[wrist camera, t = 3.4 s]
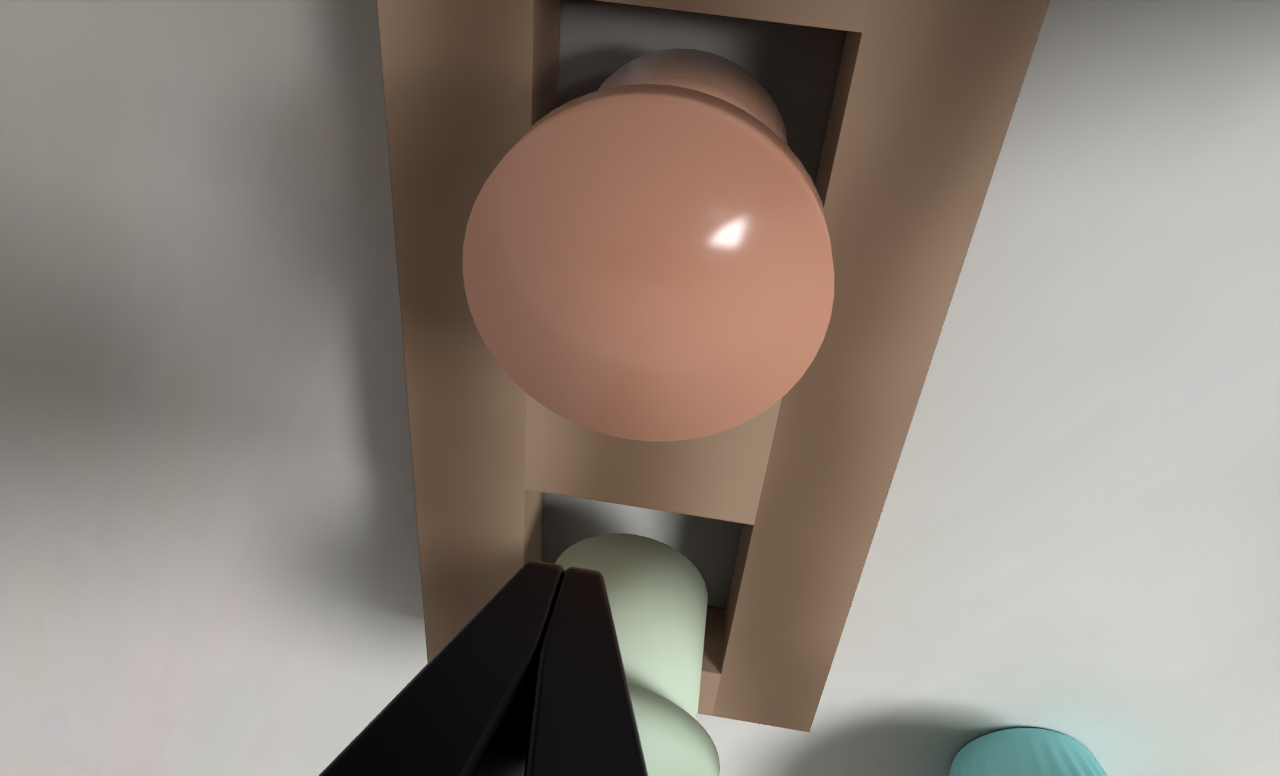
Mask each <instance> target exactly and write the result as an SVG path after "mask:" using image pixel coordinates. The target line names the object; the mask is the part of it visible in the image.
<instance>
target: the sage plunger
mask: <svg viewBox="0 0 1280 776" xmlns="http://www.w3.org/2000/svg"><path fill="white" fill-rule="evenodd" d="M555 564H559V565H561V566H562V567H563V568H564V570H566V569H567V568H569V567H578V568H584V569H590V570H596V571H599V572H601V573H602V575H603V577H604V581H605V586H606V590H607V594H608V599H609V603H610V608H611V612H612V617H613V621H614V625H615V630H616V634H617V639H618V643H619V648H620V652H621V657H622V661H623V665H624V670H625V674H626V679H627V683H628V688H629V692H630V697H631V701H632V705H633V710H634V714H635V719H636V723H637V728H638V732H639V736H640V741H641V745H642V750H643V754H644V759H645V763H646V768H647V772H648V776H719V771H720V765H719V756H718V753H717V750H716V747H715V745H714V743H713V741H712V739H711V737H710V736H709V734H708V733H707V732H706V730H705V729H704V728H703V727H702V726H701V725H700V723H699V722H698V721H697V715H698V703H699V692H700V681H701V670H702V658H703V647H704V636H705V625H706V614H707V602H708V594H707V588H706V585H705V582H704V580H703V578H702V576H701V574H700V573H699V571H698V570H697V568H696V567H695V566H694V565H693V564H692V563H691V561H689V560H688V559H687V558H686V557H685V556H684V555H682V554H681V553H680V552H678V551H677V550H675V549H673V548H672V547H670V546H668V545H666V544H664V543H661V542H659V541H657V540H654V539H650V538H647V537H643V536H638V535H632V534H614V533H613V534H602V535H597V536H593V537H590V538H586V539H583V540H581V541H579V542H577V543H575V544H573V545H572V546H570V547H569V548H567V549H566V550H565V551H564V552H563V553H562V554H561V555H560V556H559V558H558V559H557V560H556V562H555Z"/></svg>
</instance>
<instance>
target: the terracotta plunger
mask: <svg viewBox="0 0 1280 776" xmlns="http://www.w3.org/2000/svg"><path fill="white" fill-rule="evenodd" d="M462 268H463V278H464V288H465V292H466V296H467V301H468V305H469V309H470V312H471V314H472V317H473V319H474V322H475V325H476V327H477V330H478V332H479V333H480V335H481V337H482V339H483V341H484V343H485V345H486V346H487V348H488V350H489V351H490V353H491V354H492V355H493V357H494V358H495V360H496V361H497V363H498V364H499V365H500V367H501V368H502V369H503V370H504V371H505V372H506V373H507V374H508V376H509V377H510V378H511V379H512V380H513V381H514V382H515V383H516V384H517V385H518V386H519V387H520V388H521V389H523V390H524V391H525V392H526V393H527V394H528V395H529V396H530V397H532V398H533V399H535V400H536V401H537V402H539V403H540V404H542V405H543V406H544V407H546V408H547V409H549V410H550V411H552V412H554V413H556V414H558V415H559V416H561V417H563V418H565V419H566V420H568V421H571V422H573V423H575V424H578V425H580V426H582V427H585V428H587V429H590V430H593V431H596V432H600V433H603V434H606V435H610V436H615V437H619V438H624V439H629V440H639V441H650V442H665V441H680V440H689V439H696V438H700V437H705V436H709V435H713V434H717V433H719V432H722V431H725V430H728V429H731V428H734V427H736V426H738V425H740V424H742V423H744V422H746V421H748V420H750V419H752V418H754V417H756V416H757V415H759V414H760V413H762V412H763V411H765V410H767V409H768V408H770V407H771V406H772V405H774V404H775V403H776V402H777V401H778V400H780V399H781V398H782V397H783V396H784V395H785V394H787V393H788V392H789V391H790V389H791V388H792V387H793V386H794V385H795V384H796V383H797V382H798V381H799V380H800V378H801V377H802V376H803V375H804V373H805V372H806V370H807V369H808V367H809V366H810V364H811V363H812V361H813V360H814V358H815V356H816V354H817V352H818V350H819V348H820V346H821V344H822V342H823V340H824V337H825V334H826V331H827V328H828V325H829V322H830V318H831V312H832V306H833V300H834V267H833V258H832V250H831V242H830V235H829V227H828V222H827V218H826V215H825V211H824V208H823V204H822V201H821V199H820V196H819V194H818V192H817V190H816V187H815V185H814V183H813V181H812V179H811V177H810V176H809V174H808V173H807V171H806V169H805V168H804V166H803V165H802V163H801V161H800V160H799V159H798V157H797V156H796V155H795V154H794V153H793V152H792V150H791V149H790V148H789V147H788V142H787V135H786V130H785V127H784V124H783V120H782V117H781V115H780V113H779V111H778V109H777V106H776V105H775V103H774V101H773V100H772V98H771V97H770V95H769V93H768V92H767V91H766V90H765V89H764V87H763V86H762V85H761V84H760V83H759V82H758V81H757V80H756V79H755V78H754V77H753V76H752V75H751V74H750V73H749V72H747V71H746V70H744V69H743V68H741V67H740V66H739V65H737V64H736V63H734V62H732V61H730V60H728V59H726V58H724V57H721V56H718V55H715V54H712V53H709V52H705V51H700V50H695V49H668V50H661V51H657V52H652V53H649V54H646V55H644V56H641V57H638V58H636V59H634V60H632V61H630V62H628V63H627V64H625V65H623V66H622V67H620V68H619V69H618V70H616V71H615V72H614V73H612V74H611V75H610V76H609V77H608V78H607V79H606V80H605V81H604V82H603V83H602V84H601V86H600V87H599V88H598V90H597V91H594V92H592V93H589V94H586V95H583V96H581V97H578V98H575V99H573V100H571V101H569V102H567V103H565V104H563V105H562V106H560V107H558V108H556V109H554V110H552V111H551V112H549V113H548V114H547V115H545V116H544V117H543V118H541V119H540V120H539V121H537V122H536V123H535V124H533V125H532V126H531V127H530V128H529V129H528V130H527V131H526V132H525V133H524V134H523V135H522V136H521V137H520V138H519V139H518V140H517V141H516V143H515V144H514V145H513V146H512V148H511V149H510V150H509V151H508V153H507V154H506V155H505V157H504V158H503V159H502V160H501V162H500V163H499V164H498V166H497V167H496V168H495V170H494V171H493V172H492V174H491V175H490V176H489V178H488V179H487V180H486V182H485V184H484V186H483V187H482V189H481V191H480V193H479V195H478V197H477V199H476V201H475V203H474V206H473V209H472V211H471V214H470V217H469V220H468V223H467V228H466V233H465V239H464V244H463V264H462Z"/></svg>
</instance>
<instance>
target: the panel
mask: <svg viewBox="0 0 1280 776" xmlns="http://www.w3.org/2000/svg"><path fill="white" fill-rule="evenodd" d="M597 1H606V2H614V3H622V4H630V5H639V6H647V7H655V8H663V9H672V10H680V11H688V12H696V13H705V14H713V15H721V16H729V17H738V18H746V19H754V20H762V21H770V22H779V23H787V24H795V25H803V26H812V27H820V28H828V29H836V30H845V31H847V35H846V40H845V44H844V49H843V54H842V59H841V63H840V68H839V73H838V78H837V82H836V87H835V92H834V97H833V101H832V106H831V111H830V116H829V120H828V125H827V130H826V135H825V139H824V144H823V149H822V154H821V158H820V163H819V168H818V173H817V177H816V182H815V187H816V190H817V192H818V194H819V196H820V199H821V201H822V204H823V208H824V211H825V215H826V218H827V222H828V227H829V235H830V242H831V250H832V258H833V267H834V300H833V306H832V312H831V318H830V322H829V325H828V328H827V331H826V334H825V337H824V340H823V342H822V344H821V346H820V348H819V350H818V352H817V354H816V356H815V358H814V360H813V361H812V363H811V364H810V366H809V367H808V369H807V370H806V372H805V373H804V375H803V376H802V377H801V378H800V380H799V381H798V382H797V383H796V384H795V385H794V386H793V387H792V388H791V389H790V391H789V392H788V393H787V394H785V395H784V396H783V397H782V398H781V399H780V400H778V401H777V402H776V403H775V404H774V405H772V406H771V407H770V408H768V409H767V410H765V411H763V412H762V413H760V414H759V415H757V416H756V417H754V418H752V419H750V420H748V421H746V422H744V423H742V424H740V425H738V426H736V427H734V428H731V429H728V430H725V431H722V432H719V433H717V434H713V435H709V436H705V437H700V438H696V439H689V440H680V441H665V442H650V441H639V440H629V439H624V438H619V437H615V436H610V435H606V434H603V433H600V432H596V431H593V430H590V429H587V428H585V427H582V426H580V425H578V424H575V423H573V422H571V421H568V420H566V419H565V418H563V417H561V416H559V415H558V414H556V413H554V412H552V411H550V410H549V409H547V408H546V407H544V406H543V405H542V404H540V403H539V402H537V401H536V400H535V399H533V398H532V397H530V396H529V395H528V394H527V393H526V392H525V391H524V390H523V389H521V388H520V387H519V386H518V385H517V384H516V383H515V382H514V381H513V380H512V379H511V378H510V377H509V376H508V374H507V373H506V372H505V371H504V370H503V369H502V368H501V367H500V365H499V364H498V363H497V361H496V360H495V358H494V357H493V355H492V354H491V353H490V351H489V350H488V348H487V346H486V345H485V343H484V341H483V339H482V337H481V335H480V333H479V332H478V330H477V327H476V325H475V322H474V319H473V317H472V314H471V312H470V309H469V305H468V301H467V296H466V292H465V288H464V278H463V268H462V264H463V244H464V239H465V233H466V228H467V223H468V220H469V217H470V214H471V211H472V209H473V206H474V203H475V201H476V199H477V197H478V195H479V193H480V191H481V189H482V187H483V186H484V184H485V182H486V180H487V179H488V178H489V176H490V175H491V174H492V172H493V171H494V170H495V168H496V167H497V166H498V164H499V163H500V162H501V160H502V159H503V158H504V157H505V155H506V154H507V153H508V151H509V150H510V149H511V148H512V146H513V145H514V144H515V143H516V141H517V140H518V139H519V138H520V137H521V136H522V135H523V134H524V133H525V132H526V131H527V130H528V129H529V128H530V127H531V126H532V125H533V124H535V123H536V122H537V121H539V120H540V119H541V118H543V117H544V116H545V115H547V114H548V113H549V112H551V111H552V110H554V109H556V108H557V99H558V70H559V41H560V12H561V0H377V6H378V19H379V32H380V45H381V58H382V71H383V84H384V97H385V111H386V124H387V137H388V150H389V163H390V176H391V189H392V202H393V215H394V228H395V241H396V254H397V267H398V280H399V293H400V307H401V320H402V333H403V346H404V359H405V372H406V385H407V398H408V411H409V424H410V437H411V450H412V463H413V476H414V490H415V503H416V516H417V529H418V542H419V555H420V568H421V581H422V594H423V607H424V620H425V633H426V646H427V659H428V663H429V662H430V661H431V660H432V659H433V658H434V657H435V656H436V655H437V654H438V653H439V652H440V651H441V650H442V649H443V648H444V647H445V646H446V644H447V643H448V642H449V641H450V640H451V639H452V638H453V637H454V636H455V635H456V634H457V633H458V632H459V631H460V630H461V629H462V628H463V627H464V626H465V625H466V624H467V623H468V622H469V621H470V620H471V619H472V618H473V617H474V616H475V615H476V614H477V613H478V612H479V611H480V610H481V609H482V608H483V607H484V606H485V604H486V603H487V602H488V601H489V600H490V599H491V598H492V597H493V596H494V595H495V594H496V593H497V592H498V591H499V590H500V589H501V588H502V587H503V586H504V585H505V584H506V583H507V582H508V581H509V580H510V579H511V578H512V577H513V576H514V575H515V574H516V573H517V572H518V571H519V570H520V569H521V568H522V567H523V566H524V565H525V564H526V563H527V562H529V561H532V560H535V561H541V562H542V538H543V509H544V492H546V493H553V494H559V495H565V496H572V497H578V498H584V499H591V500H597V501H604V502H610V503H616V504H623V505H629V506H636V507H642V508H648V509H655V510H661V511H668V512H674V513H680V514H687V515H693V516H700V517H706V518H712V519H719V520H725V521H731V522H738V523H744V524H743V529H742V533H741V538H740V543H739V548H738V552H737V557H736V562H735V567H734V571H733V576H732V581H731V586H730V590H729V595H728V600H727V605H726V609H725V610H723V609H717V608H711V607H707V614H706V625H705V636H704V647H703V658H702V670H701V681H700V692H699V703H698V713H700V714H706V715H712V716H717V717H723V718H729V719H735V720H741V721H747V722H753V723H759V724H764V725H770V726H776V727H782V728H788V729H794V730H800V731H806V732H809V731H810V728H811V725H812V722H813V719H814V716H815V713H816V710H817V707H818V704H819V701H820V698H821V695H822V692H823V689H824V686H825V683H826V680H827V677H828V674H829V671H830V668H831V664H832V661H833V658H834V655H835V652H836V649H837V646H838V643H839V640H840V637H841V634H842V631H843V628H844V625H845V622H846V619H847V616H848V613H849V610H850V607H851V604H852V601H853V598H854V594H855V591H856V588H857V585H858V582H859V579H860V576H861V573H862V570H863V567H864V564H865V561H866V558H867V555H868V552H869V549H870V546H871V543H872V540H873V537H874V534H875V531H876V528H877V524H878V521H879V518H880V515H881V512H882V509H883V506H884V503H885V500H886V497H887V494H888V491H889V488H890V485H891V482H892V479H893V476H894V473H895V470H896V467H897V464H898V461H899V458H900V454H901V451H902V448H903V445H904V442H905V439H906V436H907V433H908V430H909V427H910V424H911V421H912V418H913V415H914V412H915V409H916V406H917V403H918V400H919V397H920V394H921V391H922V388H923V385H924V381H925V378H926V375H927V372H928V369H929V366H930V363H931V360H932V357H933V354H934V351H935V348H936V345H937V342H938V339H939V336H940V333H941V330H942V327H943V324H944V321H945V318H946V315H947V311H948V308H949V305H950V302H951V299H952V296H953V293H954V290H955V287H956V284H957V281H958V278H959V275H960V272H961V269H962V266H963V263H964V260H965V257H966V254H967V251H968V248H969V245H970V241H971V238H972V235H973V232H974V229H975V226H976V223H977V220H978V217H979V214H980V211H981V208H982V205H983V202H984V199H985V196H986V193H987V190H988V187H989V184H990V181H991V178H992V175H993V171H994V168H995V165H996V162H997V159H998V156H999V153H1000V150H1001V147H1002V144H1003V141H1004V138H1005V135H1006V132H1007V129H1008V126H1009V123H1010V120H1011V117H1012V114H1013V111H1014V108H1015V105H1016V102H1017V98H1018V95H1019V92H1020V89H1021V86H1022V83H1023V80H1024V77H1025V74H1026V71H1027V68H1028V65H1029V62H1030V59H1031V56H1032V53H1033V50H1034V47H1035V44H1036V41H1037V38H1038V35H1039V32H1040V28H1041V25H1042V22H1043V19H1044V16H1045V13H1046V10H1047V7H1048V4H1049V1H1050V0H597Z"/></svg>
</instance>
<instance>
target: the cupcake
mask: <svg viewBox="0 0 1280 776" xmlns="http://www.w3.org/2000/svg"><path fill="white" fill-rule="evenodd" d="M950 776H1108V775H1107V774H1106V772H1105V771H1104V770H1103V768H1102V767H1101V765H1100V764H1099V762H1098V761H1097V759H1096V758H1095V757H1094V755H1093V754H1092V753H1091V751H1090V750H1089V749H1088V748H1087V747H1085V746H1084V745H1083V744H1082V743H1080V742H1079V741H1077V740H1075V739H1074V738H1071V737H1069V736H1067V735H1064V734H1062V733H1058V732H1055V731H1051V730H1045V729H1038V728H1013V729H1005V730H1000V731H996V732H992V733H989V734H986V735H983V736H981V737H979V738H977V739H975V740H973V741H971V742H970V743H968V744H967V745H966V746H964V747H963V748H962V749H961V750H960V751H959V752H958V753H957V755H956V756H955V758H954V760H953V762H952V765H951V769H950Z"/></svg>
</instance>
